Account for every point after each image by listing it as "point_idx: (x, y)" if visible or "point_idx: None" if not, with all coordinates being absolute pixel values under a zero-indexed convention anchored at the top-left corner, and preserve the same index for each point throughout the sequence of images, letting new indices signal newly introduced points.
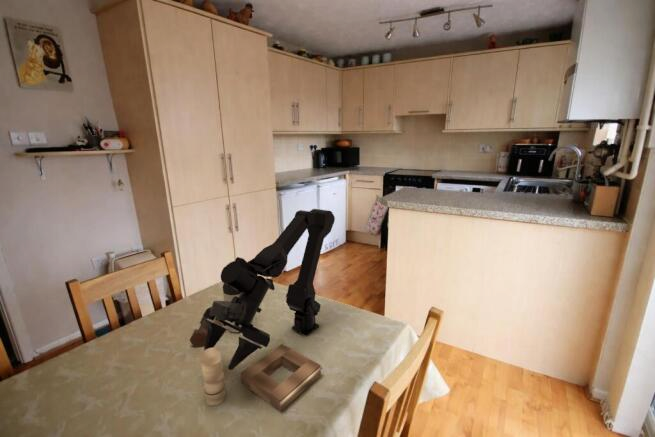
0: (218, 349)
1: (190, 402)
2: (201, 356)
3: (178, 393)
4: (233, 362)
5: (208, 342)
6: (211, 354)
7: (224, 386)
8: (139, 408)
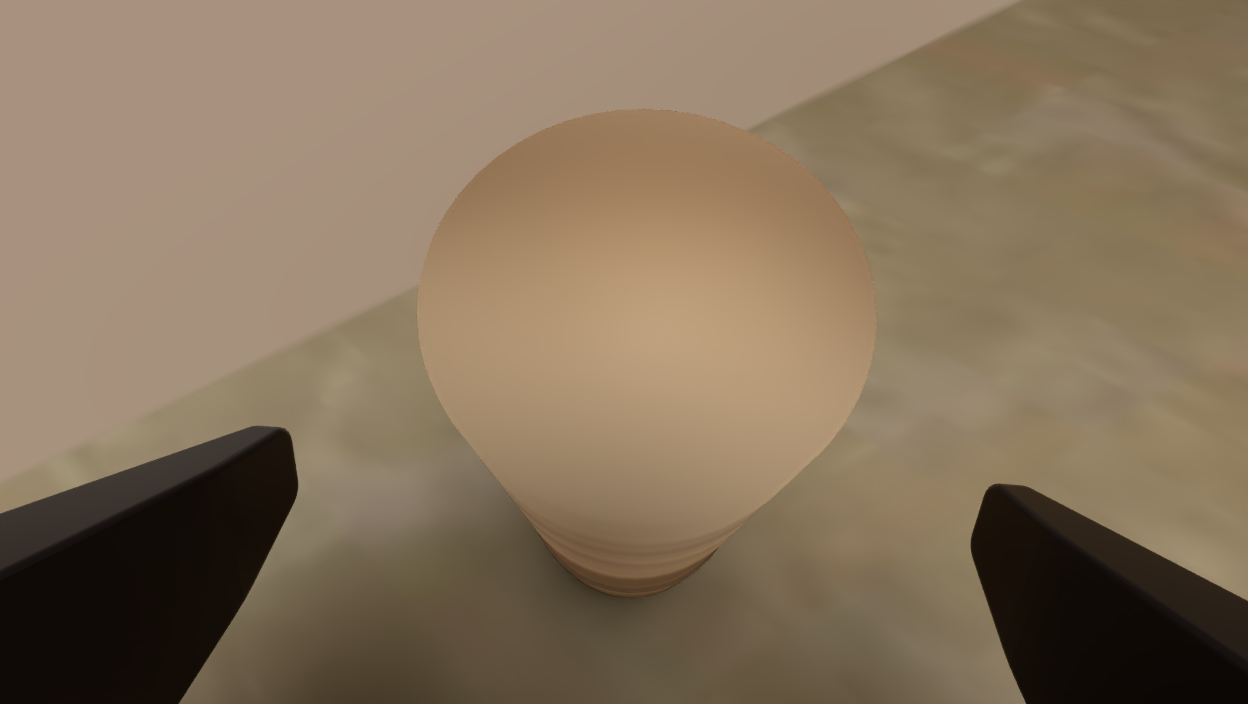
0: (604, 481)
1: None
2: (743, 152)
3: (954, 377)
4: (121, 474)
5: (1151, 606)
6: (609, 283)
7: (541, 537)
8: (1033, 167)
